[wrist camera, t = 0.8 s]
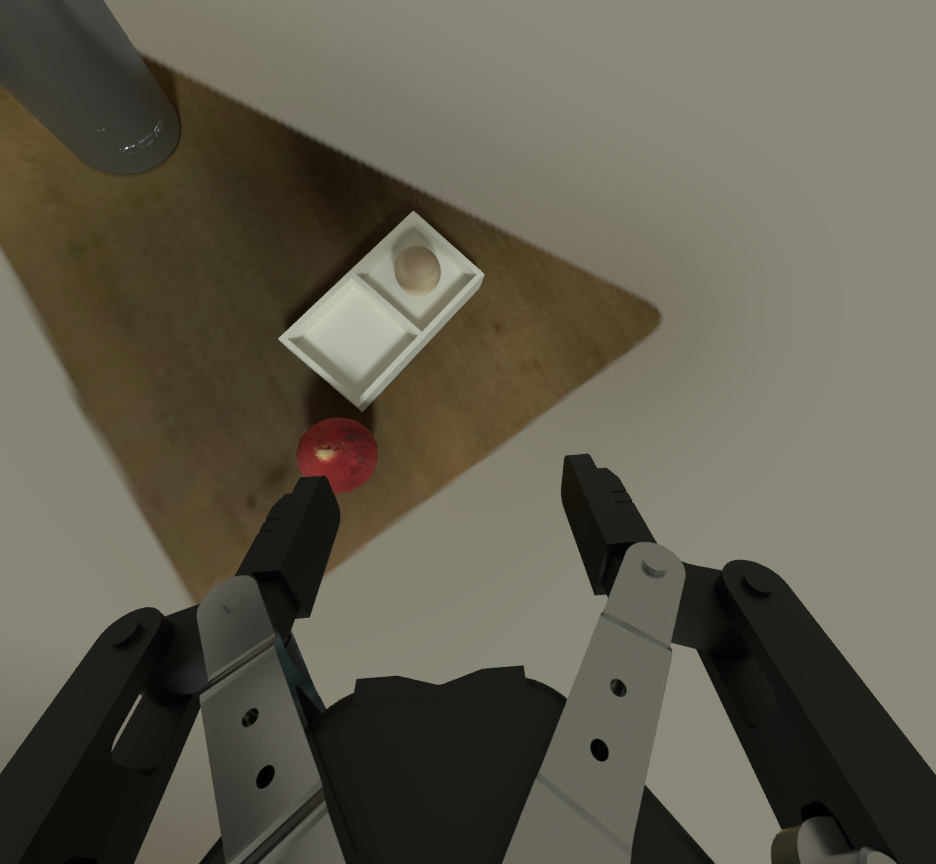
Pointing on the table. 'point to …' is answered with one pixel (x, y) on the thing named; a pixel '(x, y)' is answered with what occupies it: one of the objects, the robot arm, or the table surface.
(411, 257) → the beige wooden ball
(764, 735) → the robot arm
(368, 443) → the onion
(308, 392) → the table surface
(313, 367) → the white divided tray
